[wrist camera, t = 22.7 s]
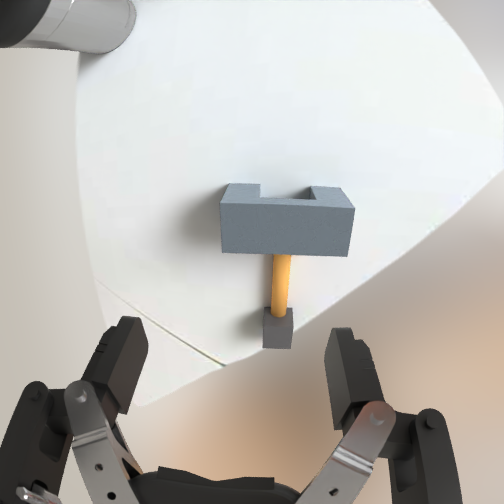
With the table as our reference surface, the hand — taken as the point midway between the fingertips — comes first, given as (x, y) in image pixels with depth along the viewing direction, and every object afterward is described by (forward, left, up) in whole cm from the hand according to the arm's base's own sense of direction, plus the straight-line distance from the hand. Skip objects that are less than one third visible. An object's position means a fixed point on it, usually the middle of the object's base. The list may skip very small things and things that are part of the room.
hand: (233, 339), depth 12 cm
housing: (+3, -5, -28) cm, 29 cm away
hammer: (+3, -18, -28) cm, 34 cm away
